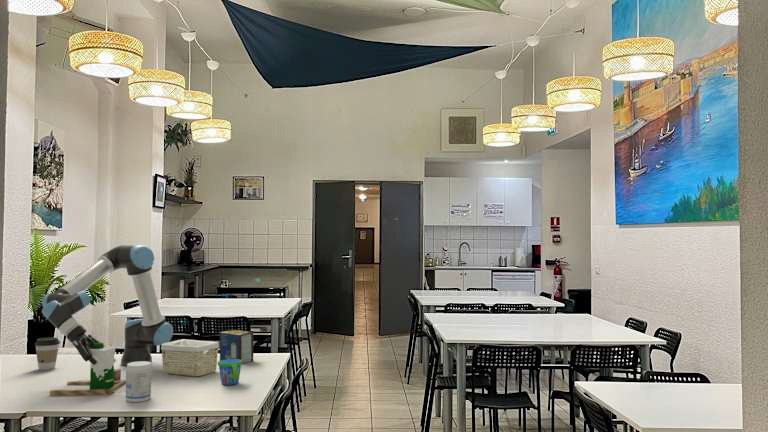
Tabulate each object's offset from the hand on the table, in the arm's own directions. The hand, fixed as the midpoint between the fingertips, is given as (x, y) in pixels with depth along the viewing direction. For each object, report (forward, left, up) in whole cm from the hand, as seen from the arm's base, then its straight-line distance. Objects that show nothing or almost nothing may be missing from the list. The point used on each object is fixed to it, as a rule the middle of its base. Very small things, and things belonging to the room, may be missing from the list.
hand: (108, 365), depth 265 cm
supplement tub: (-9, +24, -11) cm, 28 cm away
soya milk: (+2, -1, -11) cm, 11 cm away
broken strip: (+2, -16, -10) cm, 19 cm away
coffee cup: (+21, -63, -11) cm, 68 cm away
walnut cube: (-3, -13, -10) cm, 16 cm away
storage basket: (-39, -18, -11) cm, 44 cm away
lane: (+8, -4, -10) cm, 14 cm away
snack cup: (-49, +16, -11) cm, 52 cm away
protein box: (-67, -33, -11) cm, 75 cm away
